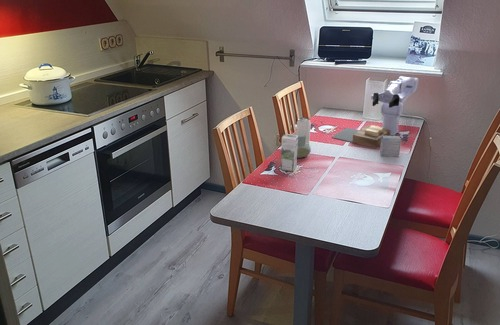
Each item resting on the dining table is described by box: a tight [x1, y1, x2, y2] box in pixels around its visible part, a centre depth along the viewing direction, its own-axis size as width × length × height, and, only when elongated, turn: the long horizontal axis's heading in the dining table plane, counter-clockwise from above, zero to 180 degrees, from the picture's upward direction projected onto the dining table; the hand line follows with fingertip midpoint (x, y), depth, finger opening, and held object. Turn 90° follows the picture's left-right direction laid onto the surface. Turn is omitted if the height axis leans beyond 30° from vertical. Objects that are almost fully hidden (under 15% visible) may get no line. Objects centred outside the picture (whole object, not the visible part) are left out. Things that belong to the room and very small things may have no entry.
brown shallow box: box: [351, 124, 391, 149], centre depth 223 cm, size 18×12×4 cm, turn 145°
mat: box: [331, 127, 361, 143], centre depth 230 cm, size 18×11×1 cm, turn 145°
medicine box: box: [379, 135, 402, 158], centre depth 205 cm, size 8×4×9 cm, turn 84°
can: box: [295, 117, 312, 145], centre depth 217 cm, size 6×6×12 cm
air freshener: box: [292, 132, 312, 159], centre depth 203 cm, size 11×8×10 cm
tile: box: [365, 124, 384, 136], centre depth 222 cm, size 9×6×2 cm, turn 145°
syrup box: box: [280, 133, 298, 172], centre depth 189 cm, size 6×6×14 cm
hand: (381, 104), depth 211 cm, fingers open, 7 cm apart
